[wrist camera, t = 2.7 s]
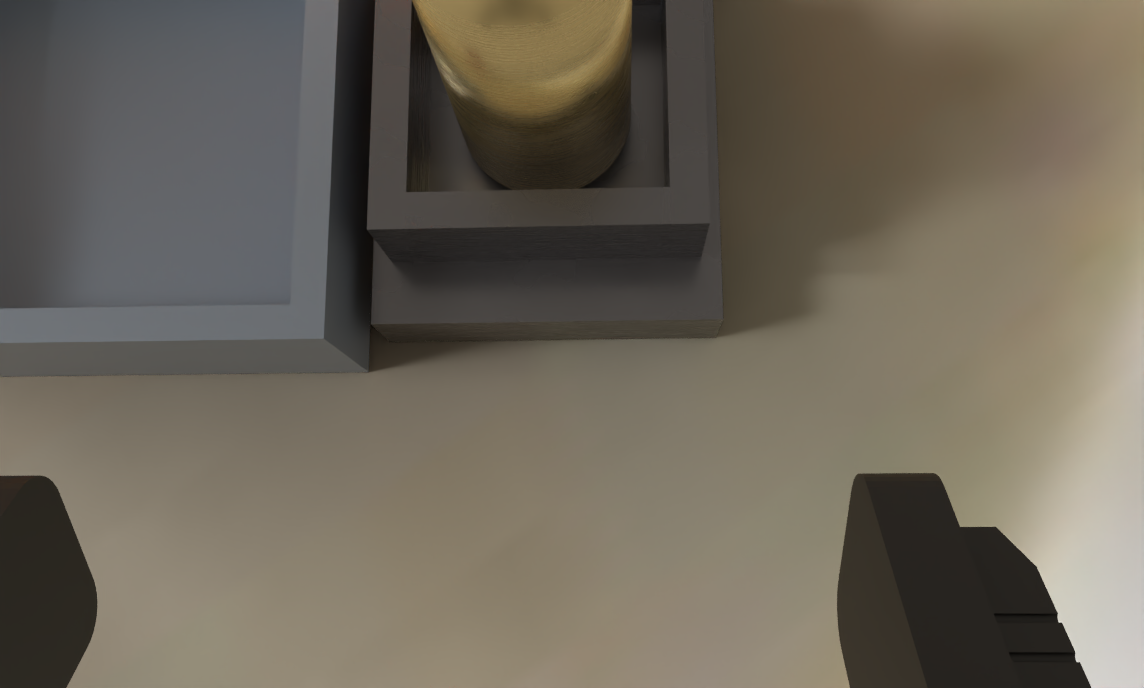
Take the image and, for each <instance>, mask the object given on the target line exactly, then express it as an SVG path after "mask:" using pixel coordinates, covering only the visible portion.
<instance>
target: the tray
mask: <svg viewBox="0 0 1144 688" xmlns="http://www.w3.org/2000/svg"><path fill="white" fill-rule="evenodd" d="M374 19H375V0H0V377H10V376H92V375H175V374H258V373H340V372H369V348H370V319H371V291H372V262H373V237H372V236H371V234H370V233H369V232H368V230H367V211H368V184H369V156H370V129H371V101H372V74H373V47H374Z"/></svg>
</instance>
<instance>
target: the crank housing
mask: <svg viewBox="0 0 1144 688" xmlns="http://www.w3.org/2000/svg"><path fill="white" fill-rule="evenodd" d="M367 230H368V232H369V233H370V234H371V236H372V237H373V238H374V251H373V279H372V308H371V325H372V326H373V327H374V328H375V329H377V330H378V331H379V332H380V333H381V334H382V335H383V336H384V337H385V338H386V339H387V340H388V341H389V342H424V341H498V340H573V339H648V338H716V336H717V334H718V331H719V329H720V326H721V324H722V321H723V294H722V264H721V234H720V203H719V173H718V142H717V112H716V82H715V51H714V21H713V0H632V56H631V121H630V128H629V133H628V136H627V139H626V142H625V144H624V146H623V148H622V150H621V152H620V154H619V156H618V157H617V158H616V160H615V161H614V163H613V164H612V165H611V166H610V167H609V168H608V169H607V170H606V171H605V172H604V173H603V174H602V175H601V176H599V177H598V178H597V179H595V180H594V181H592V182H591V183H589V184H587V185H585V186H583V187H581V188H579V189H542V190H512V189H510V188H508V187H505V186H503V185H502V184H500V183H498V182H497V181H495V180H494V179H492V178H491V177H490V176H489V175H487V174H486V173H485V172H484V171H483V170H482V169H481V167H480V166H479V165H478V164H477V162H476V161H475V160H474V158H473V157H472V155H471V153H470V151H469V149H468V147H467V144H466V142H465V139H464V136H463V134H462V131H461V128H460V126H459V123H458V120H457V118H456V115H455V113H454V110H453V107H452V105H451V102H450V99H449V97H448V94H447V91H446V89H445V86H444V84H443V81H442V78H441V76H440V73H439V70H438V68H437V65H436V62H435V60H434V57H433V55H432V52H431V49H430V47H429V44H428V41H427V39H426V36H425V33H424V31H423V28H422V25H421V23H420V20H419V18H418V15H417V12H416V10H415V7H414V4H413V2H412V0H375V19H374V47H373V74H372V101H371V129H370V156H369V184H368V211H367Z"/></svg>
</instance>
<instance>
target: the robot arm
mask: <svg viewBox="0 0 1144 688" xmlns="http://www.w3.org/2000/svg"><path fill="white" fill-rule="evenodd" d="M837 614H838V628H839V637H840V643H841V649H842V653H843V658H844V662H845V667H846V671H847V676H848V680H849V685H850V688H1091V686H1090V684H1089V681H1088V679H1087V677H1086V675H1085V673H1084V670H1083V668H1082V666H1081V664H1080V662H1076V660H1075V651H1074V648H1073V646H1072V644H1071V642H1070V640H1069V637H1068V635H1067V633H1066V631H1065V629H1064V626H1063V624H1062V623H1059V622H1058V619H1057V614H1058V613H1057V611H1056V609H1055V607H1054V604H1053V602H1052V600H1051V598H1050V596H1049V593H1048V591H1047V589H1046V587H1045V585H1044V582H1043V580H1042V578H1041V576H1040V574H1039V571H1038V569H1037V567H1036V566H1035V565H1034V564H1033V563H1032V562H1031V561H1030V560H1029V559H1028V558H1027V557H1026V556H1025V555H1024V554H1023V553H1022V552H1021V551H1020V550H1019V549H1018V548H1017V547H1016V546H1015V545H1014V544H1013V543H1012V542H1011V541H1010V540H1009V539H1008V538H1007V537H1006V536H1005V535H1003V534H1002V533H1001V532H1000V531H999V530H998V529H997V528H996V527H960V526H959V524H958V521H957V518H956V516H955V513H954V511H953V508H952V506H951V503H950V500H949V498H948V495H947V493H946V490H945V488H944V485H943V483H942V481H941V479H940V478H939V476H938V475H936V474H934V473H883V474H857V475H856V477H855V479H854V482H853V485H852V491H851V497H850V504H849V511H848V518H847V525H846V532H845V539H844V546H843V553H842V560H841V567H840V574H839V581H838V592H837ZM96 616H97V592H96V587H95V583H94V580H93V577H92V574H91V572H90V569H89V567H88V564H87V562H86V559H85V557H84V554H83V552H82V549H81V547H80V544H79V541H78V539H77V536H76V534H75V531H74V529H73V526H72V524H71V521H70V519H69V516H68V514H67V511H66V509H65V506H64V503H63V501H62V498H61V496H60V493H59V491H58V489H57V487H56V486H55V484H54V483H53V482H52V481H51V480H50V479H49V478H47V477H45V476H0V688H66V687H67V685H68V683H69V682H70V680H71V678H72V676H73V674H74V672H75V670H76V668H77V666H78V664H79V662H80V660H81V659H82V657H83V655H84V653H85V651H86V649H87V647H88V645H89V643H90V640H91V637H92V634H93V631H94V627H95V622H96Z"/></svg>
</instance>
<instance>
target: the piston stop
mask: <svg viewBox="0 0 1144 688" xmlns="http://www.w3.org/2000/svg"><path fill="white" fill-rule="evenodd" d="M412 2H413V4H414V7H415V10H416V12H417V15H418V18H419V20H420V23H421V25H422V28H423V31H424V33H425V36H426V39H427V41H428V44H429V47H430V49H431V52H432V55H433V57H434V60H435V62H436V65H437V68H438V70H439V73H440V76H441V78H442V81H443V84H444V86H445V89H446V91H447V94H448V97H449V99H450V102H451V105H452V107H453V110H454V113H455V115H456V118H457V120H458V123H459V126H460V128H461V131H462V134H463V136H464V139H465V142H466V144H467V147H468V149H469V151H470V153H471V155H472V157H473V158H474V160H475V161H476V162H477V164H478V165H479V166H480V167H481V169H482V170H483V171H484V172H485V173H486V174H487V175H489V176H490V177H491V178H492V179H494V180H495V181H497V182H498V183H500V184H502V185H503V186H505V187H508V188H510V189H512V190H542V189H579V188H581V187H583V186H585V185H587V184H589V183H591V182H592V181H594V180H595V179H597V178H598V177H599V176H601V175H602V174H603V173H604V172H605V171H606V170H607V169H608V168H609V167H610V166H611V165H612V164H613V163H614V161H615V160H616V158H617V157H618V156H619V154H620V152H621V150H622V148H623V146H624V144H625V142H626V139H627V136H628V133H629V128H630V121H631V56H632V0H412Z"/></svg>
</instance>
